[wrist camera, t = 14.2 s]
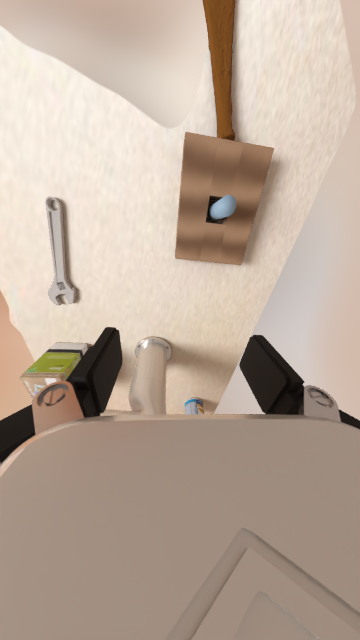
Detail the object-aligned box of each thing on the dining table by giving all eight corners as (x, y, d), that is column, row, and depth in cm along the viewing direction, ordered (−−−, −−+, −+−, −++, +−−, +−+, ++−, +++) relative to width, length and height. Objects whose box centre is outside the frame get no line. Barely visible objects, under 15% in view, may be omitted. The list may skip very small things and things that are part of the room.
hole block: (234, 262, 40) (240, 265, 37) (175, 256, 39) (175, 258, 35) (262, 157, 30) (274, 148, 27) (183, 144, 29) (185, 131, 25)
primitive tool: (196, -44, 20) (201, -92, 17) (236, -59, 20) (249, -111, 17) (213, 153, 30) (217, 145, 27) (240, 145, 30) (248, 135, 27)
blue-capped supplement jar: (187, 396, 68) (192, 451, 51) (204, 397, 70) (215, 452, 52) (182, 406, 72) (186, 461, 55) (199, 408, 74) (208, 461, 56)
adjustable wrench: (49, 195, 32) (43, 193, 30) (82, 208, 33) (78, 207, 32) (52, 299, 43) (48, 302, 41) (76, 306, 44) (73, 309, 43)
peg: (218, 221, 35) (233, 217, 27) (205, 219, 35) (217, 215, 26) (221, 205, 34) (238, 196, 25) (208, 203, 34) (221, 193, 25)
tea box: (95, 373, 58) (74, 412, 45) (68, 372, 57) (38, 412, 44) (87, 342, 51) (59, 379, 38) (55, 341, 50) (15, 378, 37)
